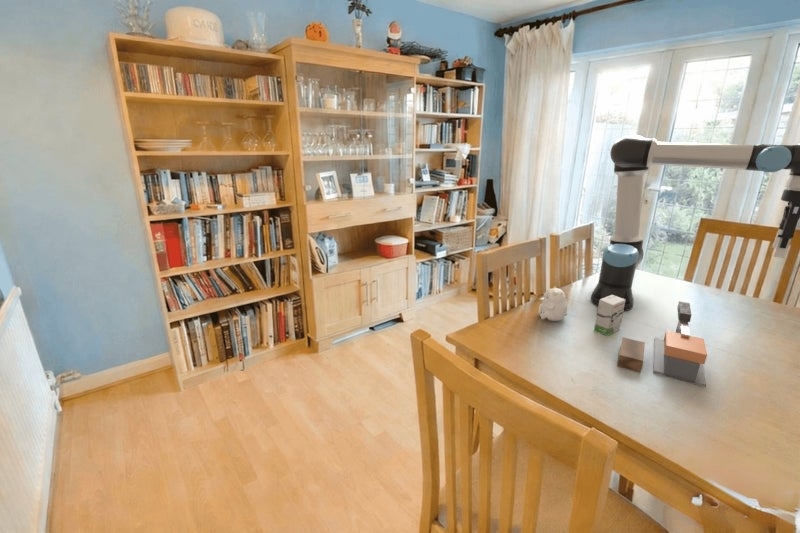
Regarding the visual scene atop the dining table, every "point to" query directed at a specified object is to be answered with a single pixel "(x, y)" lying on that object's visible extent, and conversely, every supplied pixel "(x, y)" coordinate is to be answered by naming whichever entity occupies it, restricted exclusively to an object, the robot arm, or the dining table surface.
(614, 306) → the ink box
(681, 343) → the cover
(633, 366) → the brown wooden block
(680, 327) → the grey t-shaped piece
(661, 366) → the block
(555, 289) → the figurine
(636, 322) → the dining table surface
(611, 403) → the dining table surface
